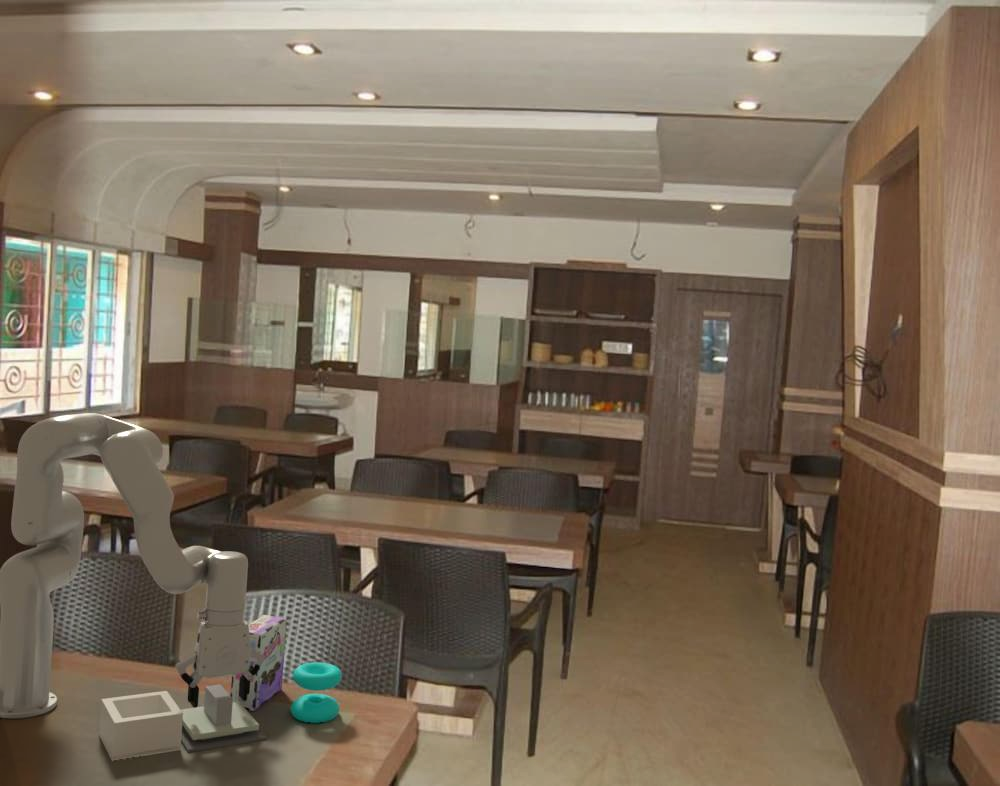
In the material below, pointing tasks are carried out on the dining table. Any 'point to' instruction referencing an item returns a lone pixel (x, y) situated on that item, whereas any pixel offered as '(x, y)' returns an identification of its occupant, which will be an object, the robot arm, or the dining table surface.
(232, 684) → the candy box
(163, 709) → the storage box
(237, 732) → the lid
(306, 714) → the donuts
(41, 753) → the dining table surface
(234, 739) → the rubber mat
